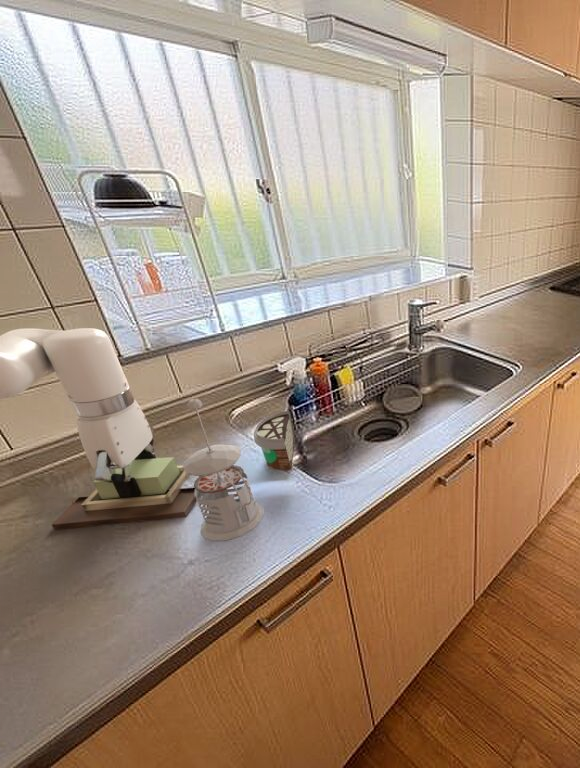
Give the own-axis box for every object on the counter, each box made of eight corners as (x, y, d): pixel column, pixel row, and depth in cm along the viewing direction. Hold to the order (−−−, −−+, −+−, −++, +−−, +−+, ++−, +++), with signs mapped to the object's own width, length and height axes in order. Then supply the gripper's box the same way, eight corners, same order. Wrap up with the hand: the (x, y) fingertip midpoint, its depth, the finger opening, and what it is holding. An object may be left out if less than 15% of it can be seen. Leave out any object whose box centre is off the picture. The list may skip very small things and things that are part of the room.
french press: (242, 493, 82) (207, 379, 70) (282, 516, 77) (251, 398, 66) (188, 526, 74) (138, 404, 63) (229, 553, 69) (183, 427, 58)
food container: (266, 450, 94) (256, 412, 90) (297, 446, 96) (288, 409, 92) (258, 486, 84) (247, 445, 79) (292, 480, 86) (283, 440, 82)
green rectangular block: (101, 499, 76) (92, 482, 74) (121, 477, 81) (113, 461, 79) (164, 493, 78) (157, 476, 76) (180, 473, 83) (173, 456, 81)
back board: (54, 529, 72) (47, 518, 71) (109, 473, 85) (104, 463, 84) (186, 516, 76) (181, 505, 75) (219, 465, 89) (216, 455, 88)
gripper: (110, 379, 78) (144, 457, 86) (38, 431, 63) (87, 519, 71) (156, 377, 79) (185, 454, 88) (96, 427, 64) (138, 514, 73)
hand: (141, 483), depth 79 cm, fingers closed on green rectangular block, 6 cm apart
